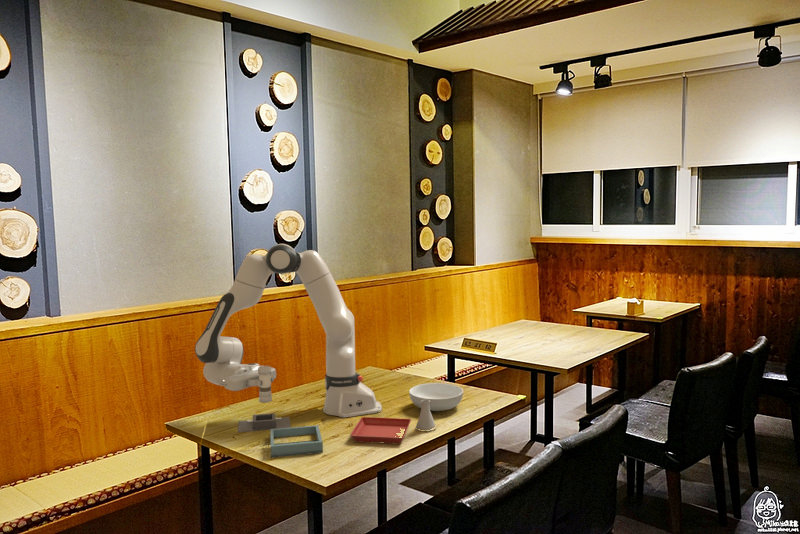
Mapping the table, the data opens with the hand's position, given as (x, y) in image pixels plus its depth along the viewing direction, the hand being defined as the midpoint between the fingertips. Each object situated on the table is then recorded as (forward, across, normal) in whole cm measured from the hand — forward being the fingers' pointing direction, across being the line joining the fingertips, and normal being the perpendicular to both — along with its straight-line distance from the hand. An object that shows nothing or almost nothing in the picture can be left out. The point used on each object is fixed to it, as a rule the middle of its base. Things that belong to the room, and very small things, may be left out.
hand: (266, 381), depth 217 cm
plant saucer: (+38, +15, +18) cm, 45 cm away
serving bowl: (+39, +51, +17) cm, 66 cm away
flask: (+48, +28, +17) cm, 58 cm away
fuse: (-1, 0, +7) cm, 7 cm away
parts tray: (+20, -7, +17) cm, 27 cm away
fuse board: (-2, 0, +17) cm, 17 cm away
